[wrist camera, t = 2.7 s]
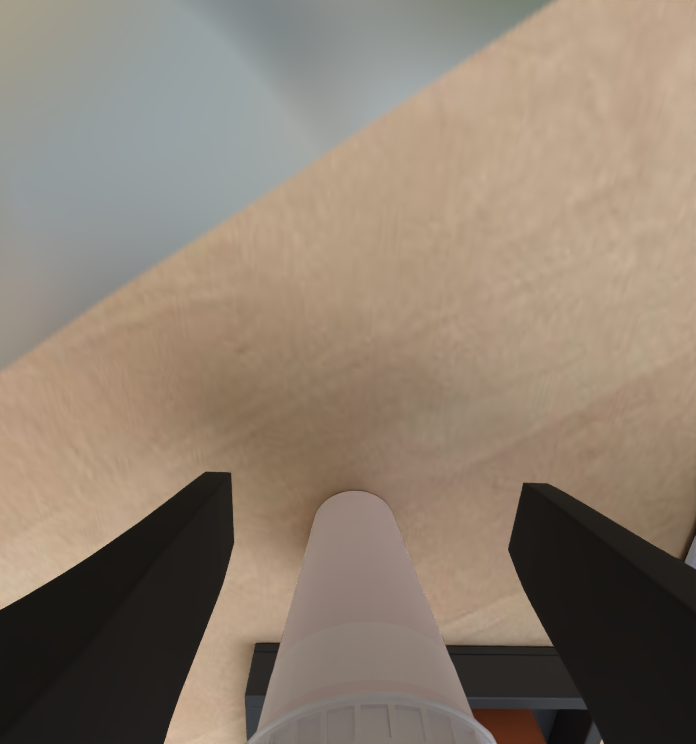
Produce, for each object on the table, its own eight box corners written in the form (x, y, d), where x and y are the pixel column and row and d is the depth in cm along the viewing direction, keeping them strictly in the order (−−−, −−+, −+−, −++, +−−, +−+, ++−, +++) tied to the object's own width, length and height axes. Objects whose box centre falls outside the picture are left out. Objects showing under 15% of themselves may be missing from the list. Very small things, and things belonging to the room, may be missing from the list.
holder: (255, 643, 19) (244, 696, 17) (586, 647, 20) (618, 699, 18) (258, 757, 22) (249, 815, 20) (549, 756, 23) (573, 813, 20)
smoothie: (381, 597, 18) (495, 1499, 5) (260, 551, 17) (8, 1530, 4) (450, 497, 17) (888, 1458, 3) (321, 440, 16) (224, 1493, 2)
